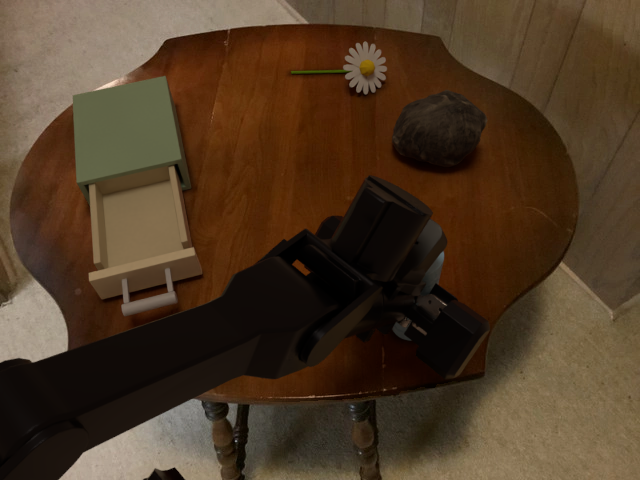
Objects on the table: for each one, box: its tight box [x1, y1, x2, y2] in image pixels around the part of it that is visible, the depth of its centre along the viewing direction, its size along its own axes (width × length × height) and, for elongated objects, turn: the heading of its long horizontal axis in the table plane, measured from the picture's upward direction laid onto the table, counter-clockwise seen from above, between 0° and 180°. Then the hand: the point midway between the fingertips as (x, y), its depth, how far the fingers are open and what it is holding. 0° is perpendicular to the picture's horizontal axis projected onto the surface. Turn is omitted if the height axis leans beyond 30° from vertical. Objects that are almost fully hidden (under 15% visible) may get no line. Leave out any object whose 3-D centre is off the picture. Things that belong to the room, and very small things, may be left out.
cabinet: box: [72, 75, 192, 207], centre depth 84 cm, size 17×13×6 cm
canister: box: [391, 250, 445, 342], centre depth 63 cm, size 4×4×14 cm
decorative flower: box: [290, 41, 388, 96], centre depth 92 cm, size 8×6×15 cm
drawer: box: [88, 164, 203, 317], centre depth 73 cm, size 21×12×4 cm, turn 15°
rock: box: [391, 89, 488, 168], centre depth 80 cm, size 10×11×10 cm
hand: (422, 285), depth 64 cm, fingers closed on canister, 4 cm apart
